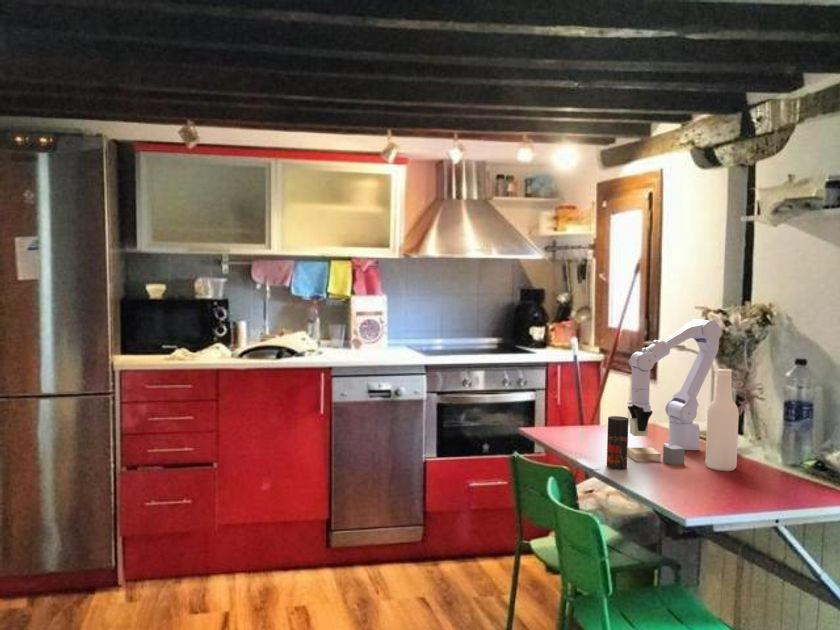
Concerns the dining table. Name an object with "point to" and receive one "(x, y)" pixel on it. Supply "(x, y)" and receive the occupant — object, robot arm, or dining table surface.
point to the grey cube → (673, 454)
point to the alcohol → (722, 426)
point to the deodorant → (617, 442)
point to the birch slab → (644, 454)
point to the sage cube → (635, 430)
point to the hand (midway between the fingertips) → (639, 429)
